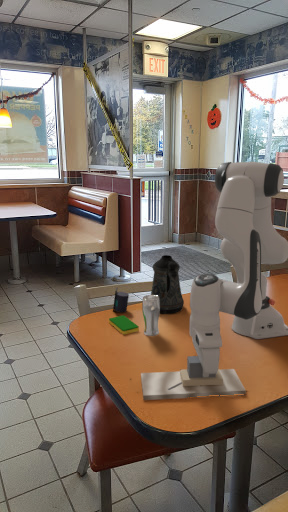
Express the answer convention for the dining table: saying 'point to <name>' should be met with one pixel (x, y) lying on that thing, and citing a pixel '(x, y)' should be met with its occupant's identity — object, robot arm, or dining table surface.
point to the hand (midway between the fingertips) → (203, 371)
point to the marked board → (172, 387)
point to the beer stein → (167, 285)
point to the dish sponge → (123, 324)
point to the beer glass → (151, 314)
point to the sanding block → (198, 374)
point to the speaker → (120, 301)
